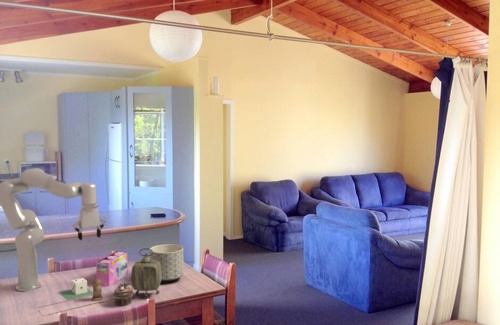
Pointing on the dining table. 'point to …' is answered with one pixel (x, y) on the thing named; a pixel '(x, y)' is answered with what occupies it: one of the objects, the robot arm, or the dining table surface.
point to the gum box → (112, 268)
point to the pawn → (97, 290)
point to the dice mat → (71, 295)
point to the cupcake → (123, 295)
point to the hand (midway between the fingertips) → (89, 238)
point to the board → (76, 307)
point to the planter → (169, 260)
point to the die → (79, 286)
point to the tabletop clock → (146, 274)
